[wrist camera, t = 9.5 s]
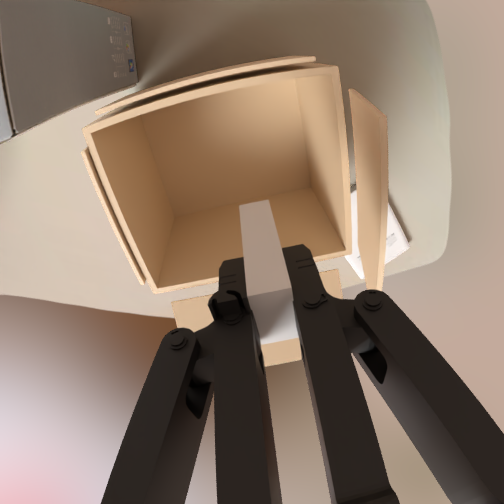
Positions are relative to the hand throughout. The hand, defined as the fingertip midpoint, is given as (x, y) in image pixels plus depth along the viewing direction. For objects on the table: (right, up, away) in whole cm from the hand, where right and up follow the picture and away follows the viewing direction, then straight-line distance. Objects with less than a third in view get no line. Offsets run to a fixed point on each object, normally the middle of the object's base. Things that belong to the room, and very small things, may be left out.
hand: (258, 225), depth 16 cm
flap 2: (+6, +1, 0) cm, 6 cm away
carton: (-3, +9, +13) cm, 17 cm away
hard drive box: (-19, +17, +7) cm, 26 cm away
